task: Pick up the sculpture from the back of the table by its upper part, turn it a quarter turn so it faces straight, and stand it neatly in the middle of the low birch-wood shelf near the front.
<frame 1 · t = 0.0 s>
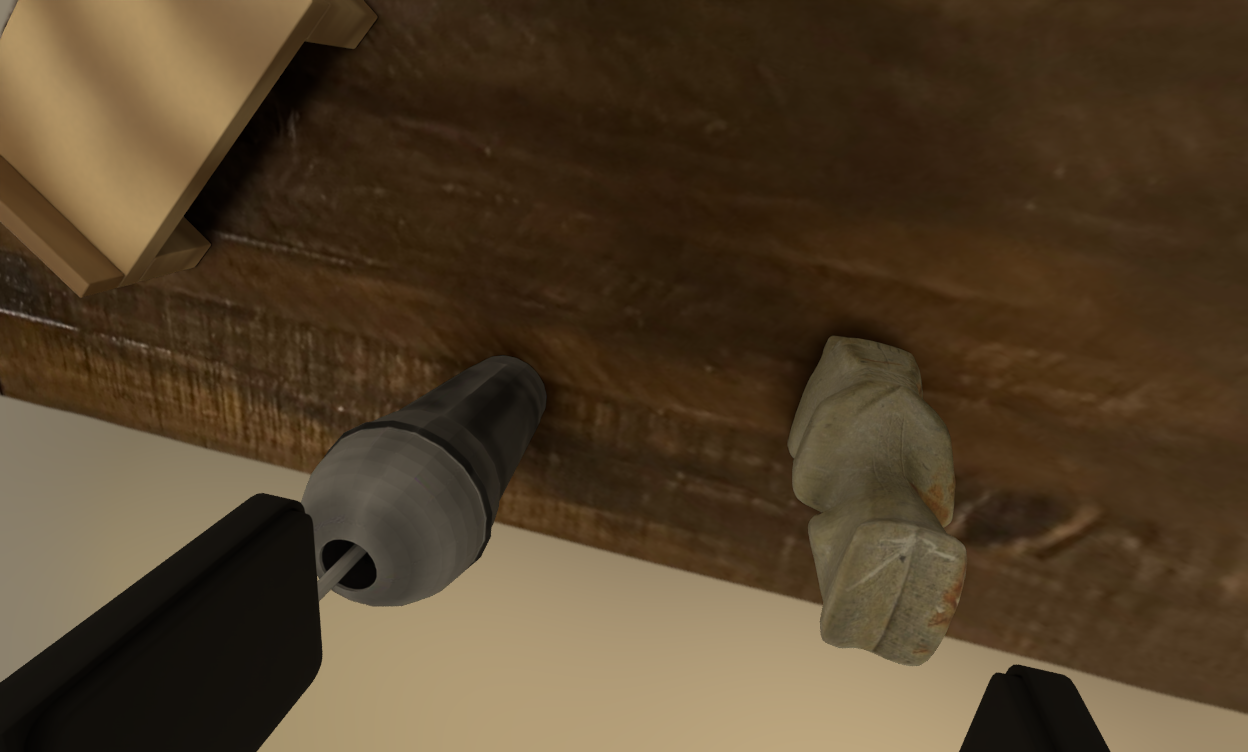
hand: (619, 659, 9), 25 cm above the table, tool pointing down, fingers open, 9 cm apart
beverage cup: (508, 392, 37), on the table
sculpture: (846, 390, 34), on the table
shelf: (204, 78, 34), on the table
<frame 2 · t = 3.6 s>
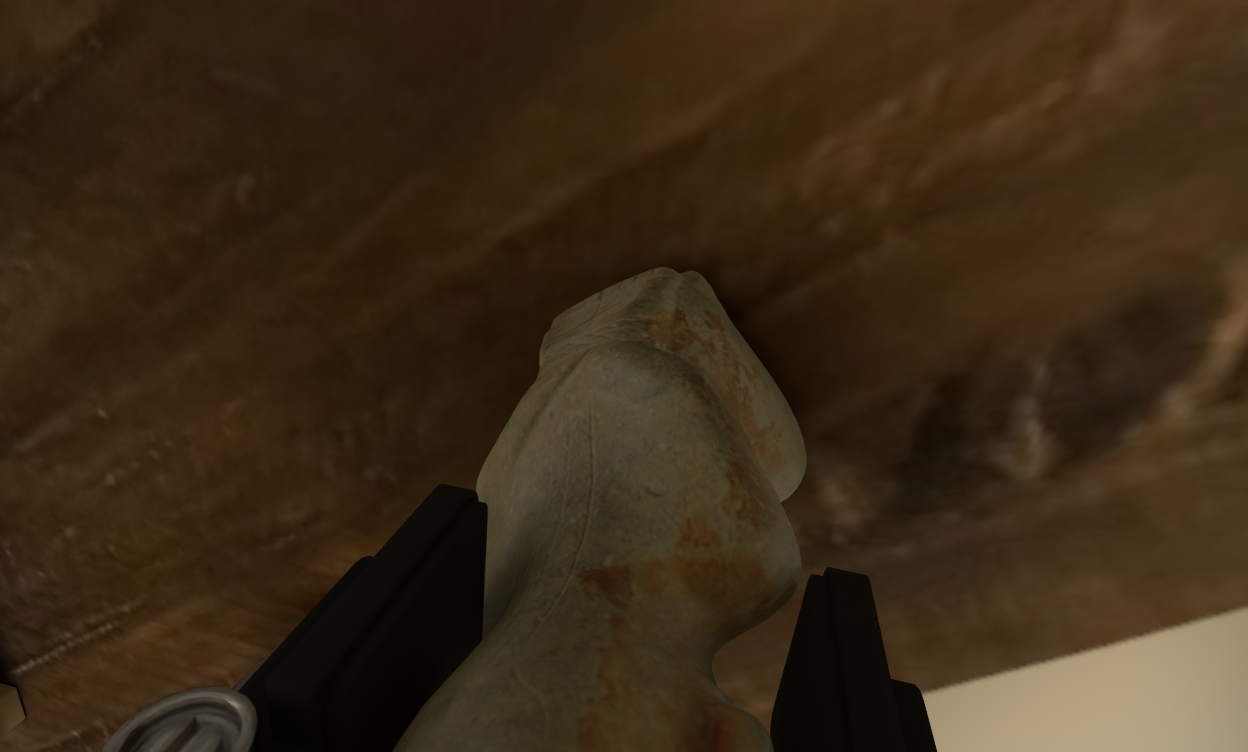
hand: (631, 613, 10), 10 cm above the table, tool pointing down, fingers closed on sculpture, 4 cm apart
sculpture: (692, 373, 19), on the table, touching gripper
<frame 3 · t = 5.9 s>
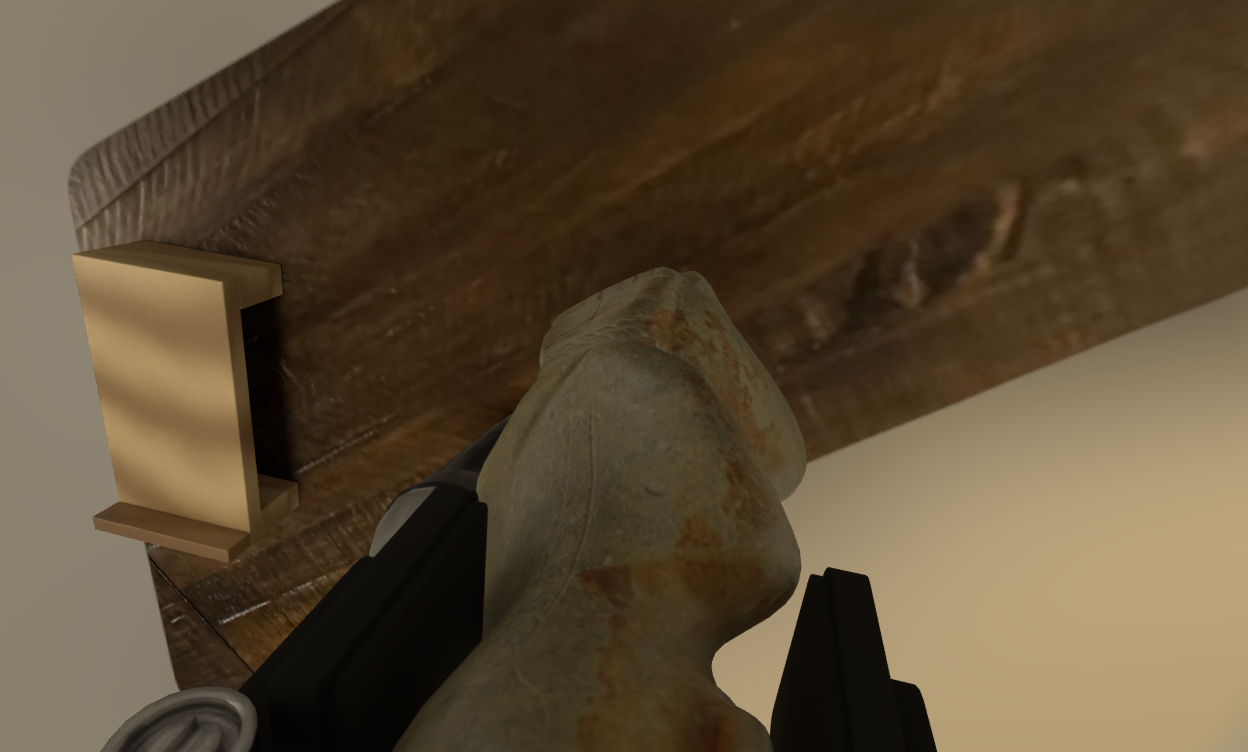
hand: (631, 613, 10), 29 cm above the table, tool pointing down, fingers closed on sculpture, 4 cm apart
beverage cup: (530, 442, 44), on the table
sculpture: (692, 373, 19), point 19 cm above the table, touching gripper
shelf: (226, 380, 47), on the table
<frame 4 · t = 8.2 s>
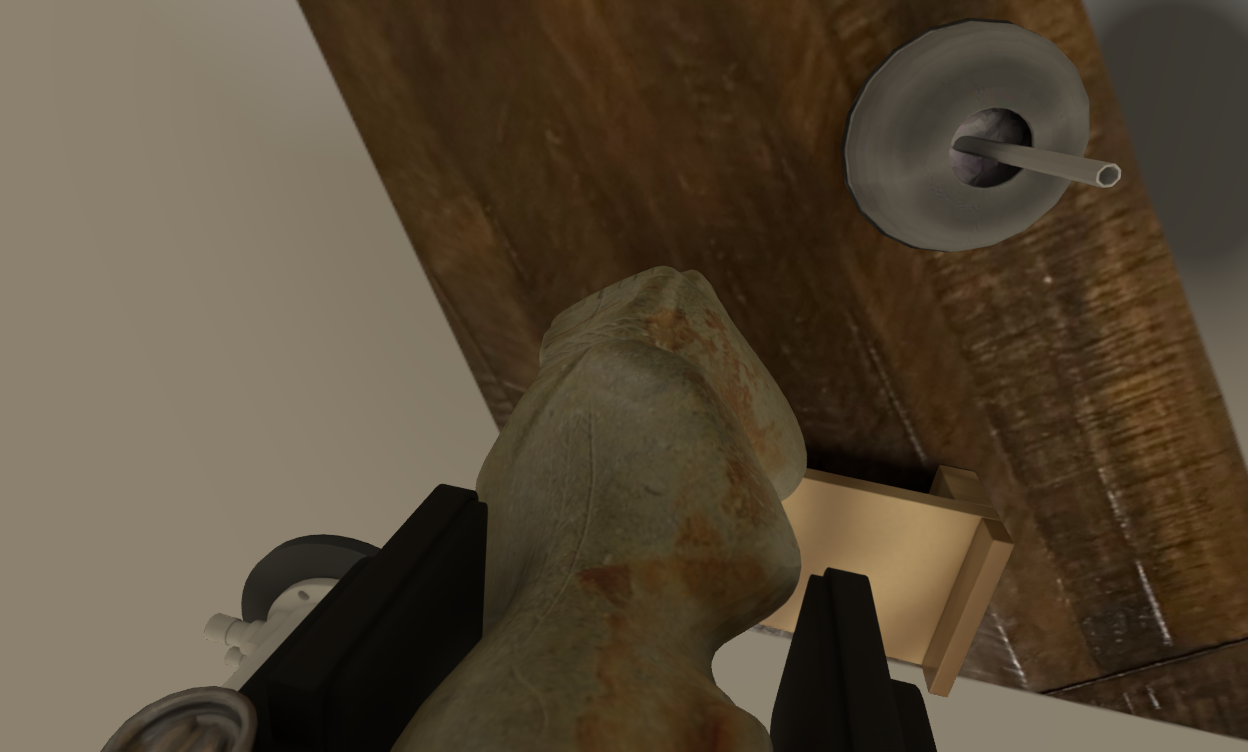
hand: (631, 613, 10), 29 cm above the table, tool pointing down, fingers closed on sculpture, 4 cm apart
beverage cup: (898, 130, 33), on the table
sculpture: (693, 373, 19), point 19 cm above the table, touching gripper
shelf: (794, 509, 41), on the table
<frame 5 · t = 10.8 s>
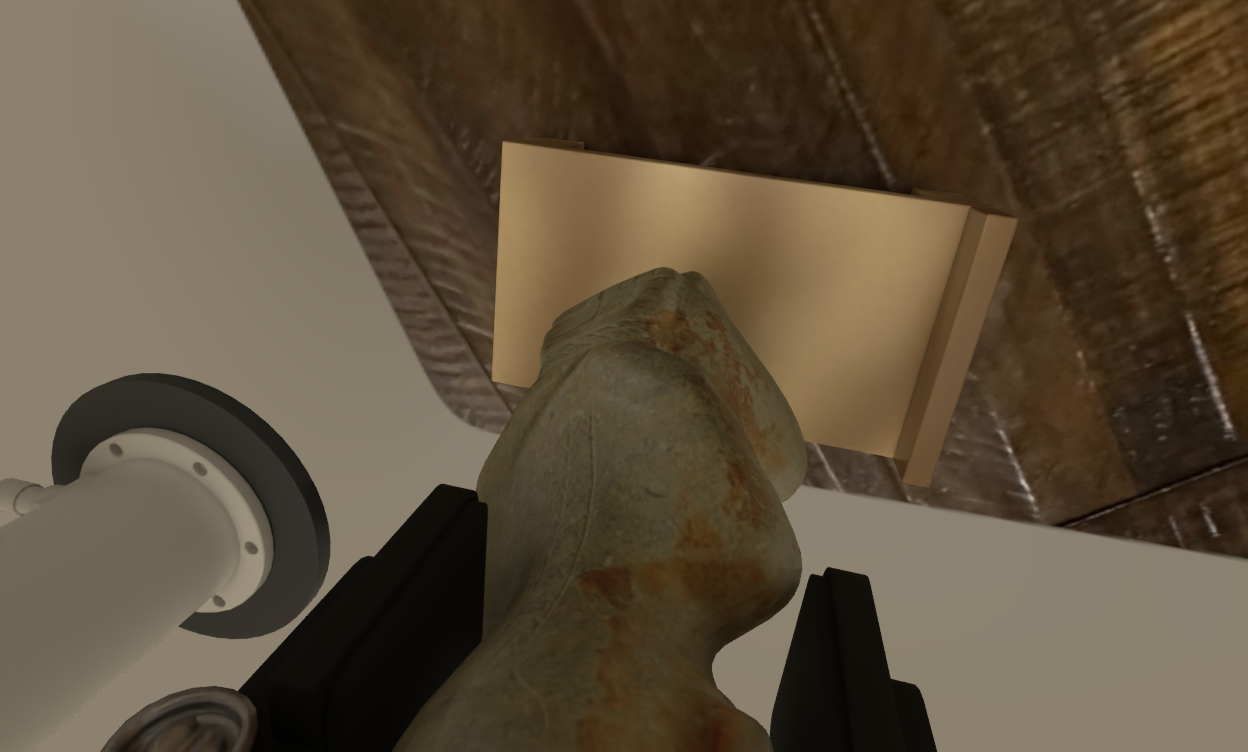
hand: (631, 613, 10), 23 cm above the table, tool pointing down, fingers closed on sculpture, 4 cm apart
sculpture: (693, 374, 19), point 13 cm above the table, touching gripper
shelf: (723, 277, 31), on the table
when the fingers open (15 cm above the table, at t = 13.0 s): sculpture stays where it is, resting on shelf.
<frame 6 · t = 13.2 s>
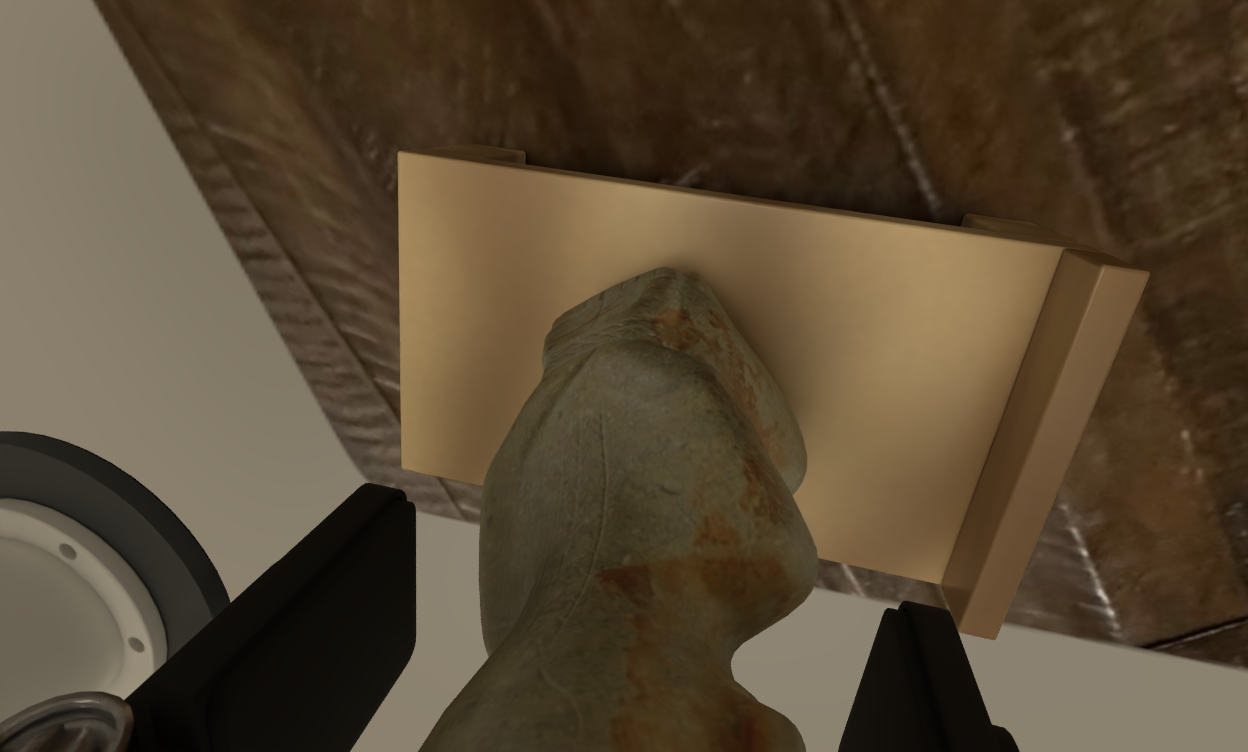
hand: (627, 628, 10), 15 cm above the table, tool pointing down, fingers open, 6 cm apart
sculpture: (691, 375, 19), point 5 cm above the table, touching shelf
shelf: (709, 327, 24), on the table
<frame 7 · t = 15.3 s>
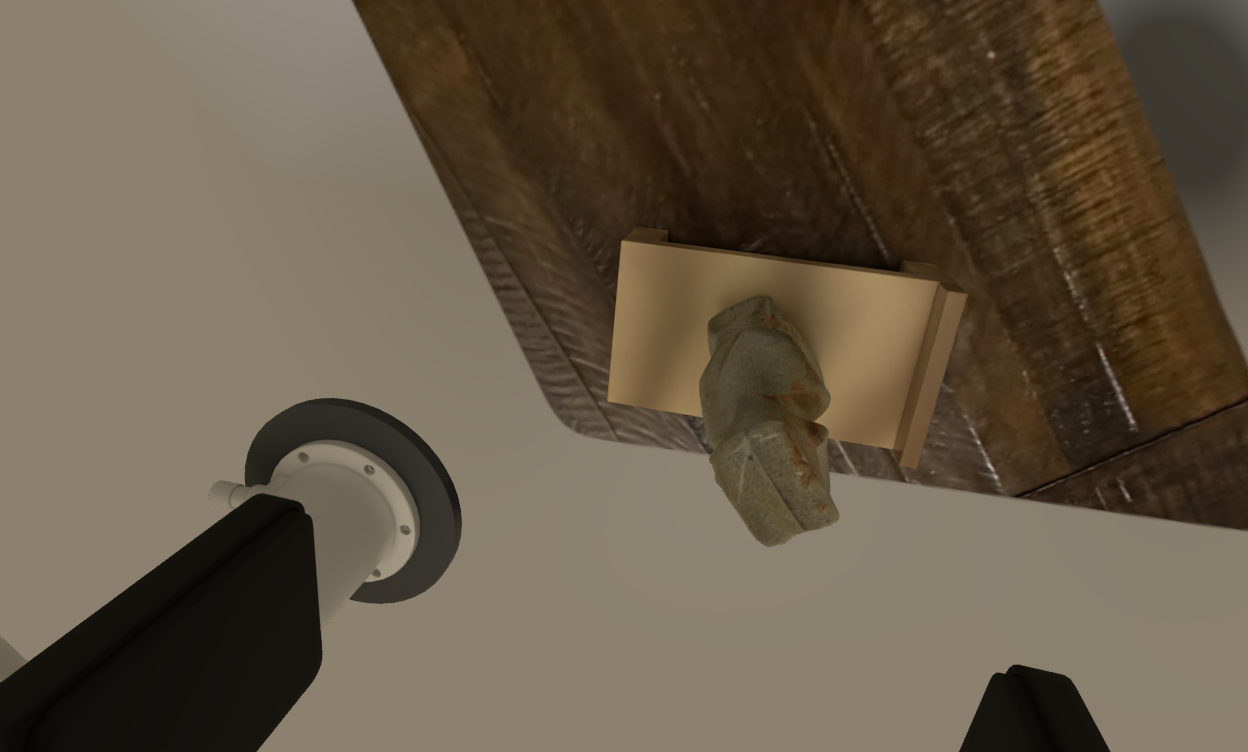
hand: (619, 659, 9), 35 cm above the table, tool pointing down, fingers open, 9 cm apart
sculpture: (765, 346, 39), point 5 cm above the table, touching shelf
shelf: (768, 322, 43), on the table
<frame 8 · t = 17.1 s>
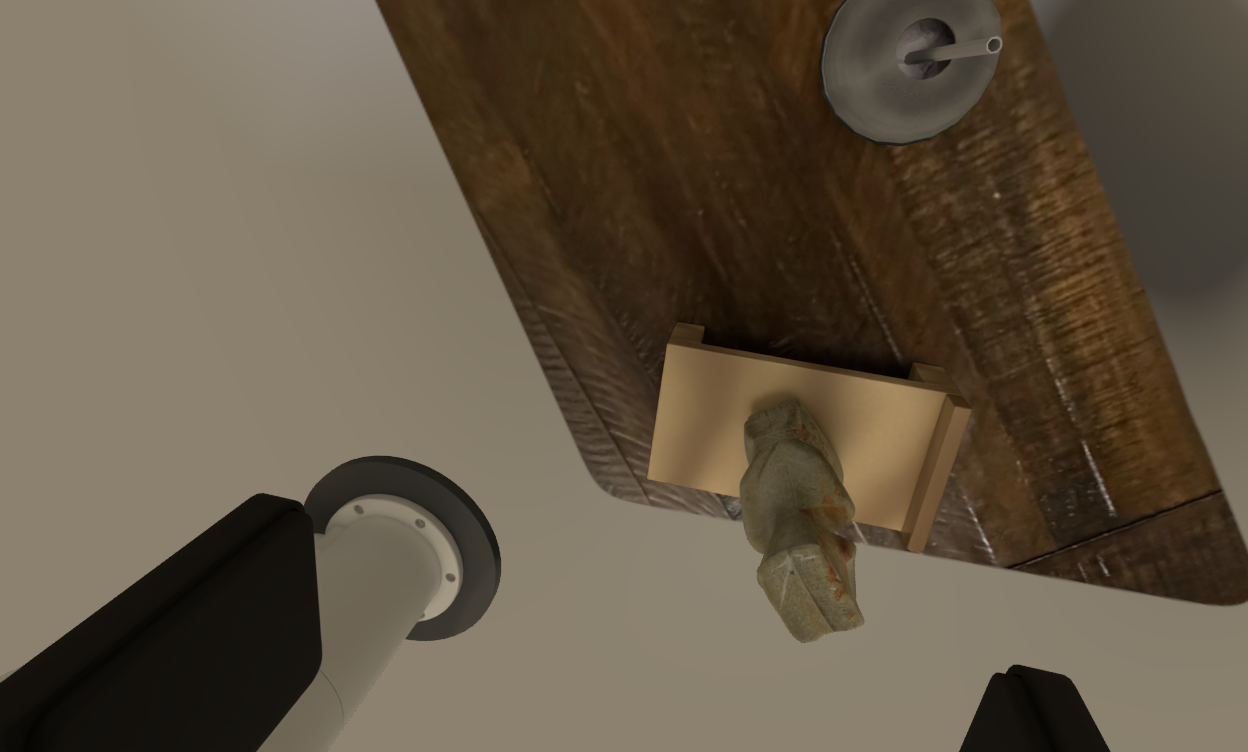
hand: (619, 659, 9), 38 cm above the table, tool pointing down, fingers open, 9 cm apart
beverage cup: (869, 72, 40), on the table
sculpture: (791, 438, 44), point 5 cm above the table, touching shelf
shelf: (791, 409, 48), on the table
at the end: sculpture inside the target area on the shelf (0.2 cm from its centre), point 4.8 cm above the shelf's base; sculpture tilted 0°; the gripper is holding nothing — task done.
